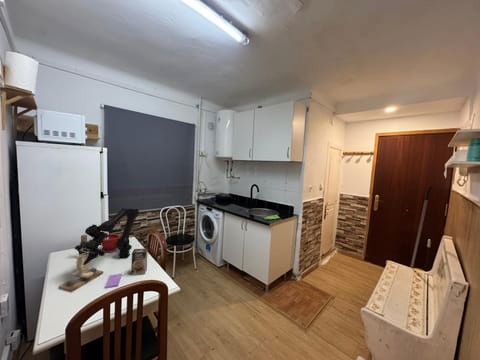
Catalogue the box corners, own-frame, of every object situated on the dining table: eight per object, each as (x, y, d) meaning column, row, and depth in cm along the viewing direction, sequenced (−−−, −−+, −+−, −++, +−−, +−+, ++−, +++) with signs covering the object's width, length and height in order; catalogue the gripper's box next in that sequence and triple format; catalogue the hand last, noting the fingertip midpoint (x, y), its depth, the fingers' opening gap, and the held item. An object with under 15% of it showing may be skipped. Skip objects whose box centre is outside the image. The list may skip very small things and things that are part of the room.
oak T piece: (71, 274, 120) (71, 254, 119) (78, 271, 124) (78, 251, 123) (87, 278, 118) (87, 257, 116) (93, 274, 121) (93, 254, 120)
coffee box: (130, 275, 130) (131, 252, 128) (133, 270, 136) (133, 248, 134) (145, 274, 132) (146, 252, 131) (147, 269, 138) (147, 247, 137)
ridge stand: (91, 270, 132) (91, 265, 131) (103, 273, 130) (103, 267, 129) (58, 288, 112) (58, 282, 112) (72, 292, 110) (72, 285, 110)
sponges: (121, 275, 129) (121, 273, 129) (118, 287, 118) (118, 284, 118) (109, 277, 127) (109, 274, 126) (104, 289, 115) (104, 286, 115)
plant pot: (108, 254, 154) (108, 240, 153) (97, 251, 159) (97, 237, 158) (123, 248, 166) (123, 235, 166) (112, 245, 171) (112, 232, 170)
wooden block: (96, 257, 149) (96, 235, 147) (79, 259, 145) (79, 236, 143) (98, 255, 152) (98, 233, 151) (81, 257, 148) (82, 234, 147)
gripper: (77, 233, 124) (58, 257, 115) (100, 237, 121) (83, 262, 111) (89, 240, 133) (72, 263, 123) (111, 244, 129) (95, 268, 119)
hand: (80, 264), depth 119 cm, fingers open, 5 cm apart
